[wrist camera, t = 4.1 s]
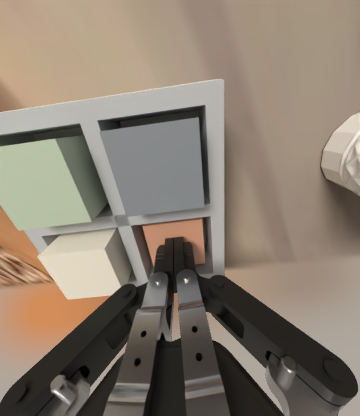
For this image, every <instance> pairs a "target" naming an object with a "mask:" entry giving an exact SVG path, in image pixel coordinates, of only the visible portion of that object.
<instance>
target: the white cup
mask: <svg viewBox="0 0 360 416" xmlns="http://www.w3.org/2000/svg"><path fill="white" fill-rule="evenodd" d="M321 168H322V170H323V173H324V175H325V177H326V179H328V180H330V181H332V182H333V183H335V184H337V185H339V186H342V187H344V188H346V189H349V190H351V191H353V192H354V193H355V194H356V195H358V196H360V112H359V113H356V114H354V115H352V116H350V117H349V118H348V119H347V120H346V121H345V122H344V123H343V124H342V125H341V126H340V127H338V128H337V129H336V130H335V131H334V132H333V134H332V136H331V137H330V139H329V141H328V142H327V144H326V146H325V148H324V149H323V155H322V161H321Z"/></svg>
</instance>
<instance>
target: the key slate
mask: <svg viewBox="0 0 360 416" xmlns="http://www.w3.org/2000/svg"><path fill="white" fill-rule="evenodd" d="M99 133H100V136H101V139H102V142H103V145H104V148H105V151H106V154H107V158H108V161H109V164H110V167H111V170H112V173H113V176H114V179H115V182H116V185H117V189H118V192H119V195H120V198H121V201H122V204H123V207H124V210H125V213H126V217H131V216H139V215H147V214H156V213H164V212H172V211H180V210H189V209H197V208H204V192H203V177H202V161H201V146H200V130H199V117H197V118H190V119H183V120H176V121H169V122H162V123H155V124H148V125H141V126H134V127H127V128H120V129H113V130H107V131H100V132H99Z"/></svg>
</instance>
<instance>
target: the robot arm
mask: <svg viewBox="0 0 360 416" xmlns="http://www.w3.org/2000/svg"><path fill="white" fill-rule="evenodd" d="M177 291H178V302H179V307H178V311H179V323H180V334H181V338H180V339H177V340H175V341H172V336H171V335H172V321H173V309H174V293H177ZM206 312H210V313H211V314H212V315H213V317H215V319H216V320H217V321H218V322H219V323H220V324H221V325H222V326H223V327H224V328H225V329H226V330H227V331H228V332H229V333H230V334H231V335H233V336H234V337H235V339H236V340H237V341H239V343H240V344H242V345H243V346H244V347H245V348H246V349H247V350H248V351H249V352H250V353H251V354H252V355H253V356H254V357H255V358H256V359H257V360H258V361H259V362H260V363H261V364H262V365H263V366H264V367H265V368H266V372H265V375H266V380H267V384H268V386H269V388H270V390H271V391H272V393H273V394H274V395H275V397H276V398H277V399H278V401H279V403H280V405H281V407H282V410H283V413H284V414H283V413H282V412H281V411H280V410H279V408H278V407H277V406H276V405H275V404H274V403H273V401H272V400H271V399H270V398H269V397H268V396H267V394H266V393H265V392H264V391H263V390H262V389H261V387H260V386H259V385H258V384H257V383H256V382H255V381H254V379H253V378H252V377H251V376H250V375H249V374H248V373H247V371H246V370H245V369H244V368H243V367H242V366H241V364H240V363H239V362H238V361H237V360H236V359H235V358H234V356H233V355H232V354H231V353H230V352H229V351H228V350H227V349H226V348H225V347H224V346H222V345H221V344H220V343H218V342H216V341H213V340H212V337H211V333H210V329H209V324H208V320H207V316H206ZM126 343H127V346H126V349H125V353H124V354H123V355H122V356H121V357H120V358H119V359H118V360H117V361H116V363H115V364H114V365H113V366H112V368H111V369H110V370H109V372H108V373H107V374H106V376H105V377H104V378H103V380H102V381H101V382H100V384H99V385H98V386H97V387H96V389H95V390H94V391H93V393H92V394H91V395H90V397H89V393H90V387H91V385H92V384H93V383H94V382H95V381H96V380H97V378H98V377H99V376H100V375H101V373H102V372H103V371H104V370H105V369H106V367H107V366H108V365H109V364H110V362H111V361H112V360H113V359H114V358H115V356H116V355H117V354H118V353H119V351H120V350H121V349H122V348H123V347H124V345H125V344H126ZM357 392H358V384H357V381H356V378H355V376H354V374H353V373H352V371H351V370H350V368H349V367H348V366H347V365H346V364H345V363H344V362H343V361H342V360H341V359H340V358H339V357H337V356H336V355H335V354H333V353H332V352H330V351H329V350H327V349H326V348H325V347H323V346H322V345H321V344H319V343H318V342H316V341H315V340H313V339H312V338H311V337H309V336H308V335H307V334H305V333H304V332H302V331H301V330H300V329H298V328H296V327H295V326H294V325H293V324H291V323H290V322H288V321H287V320H286V319H284V318H283V317H281V316H280V315H279V314H277V313H276V312H274V311H273V310H271V309H270V308H269V307H267V306H266V305H265V304H263V303H262V302H260V301H259V300H258V299H256V298H255V297H253V296H252V295H250V294H249V293H247V292H246V291H245V290H243V289H242V288H241V287H239V286H238V285H236V284H235V283H234V282H232V281H231V280H229V279H228V278H227V277H225V276H223V275H214V276H212V277H211V278H210V279H209V278H204V277H202V276H200V275H199V274H198V273H197V272H196V269H195V261H194V254H193V246H192V244H191V243H190V242H183V236H181V237H173V238H165V245H159V247H158V248H157V251H156V257H155V264H154V270H153V275H152V276H151V277H150V278H149V280H148V282H147V283H145V284H143V285H140V286H138V287H136V286H135V285H134V284H125V285H123V286H122V287H120V288H119V289H118V290H117V291H116V292H115V293H114V294H113V295H111V296H110V297H109V298H108V299H107V300H106V301H105V302H104V303H103V304H102V305H100V306H99V307H98V308H97V309H96V310H95V311H94V312H93V313H92V314H90V315H89V316H88V317H87V318H86V319H85V320H84V321H83V322H82V323H81V324H80V325H78V326H77V327H76V328H75V329H74V330H73V331H72V332H71V333H70V334H68V335H67V336H66V337H65V338H64V339H63V340H62V341H61V342H60V343H59V344H58V345H56V346H55V347H54V348H53V349H52V350H51V351H50V352H49V353H48V354H47V355H45V356H44V357H43V358H42V359H41V360H40V361H39V362H38V363H37V364H35V365H34V366H33V367H32V368H31V369H30V370H29V371H28V372H27V373H26V374H24V375H23V376H22V377H21V378H20V379H19V380H18V381H17V382H16V383H15V384H14V385H13V386H12V387H11V388H10V389H9V390H8V392H7V393H6V394H5V396H4V397H3V399H2V401H1V403H0V416H338V412H339V411H340V410H341V409H342V408H343V407H344V406H345V405H346V404H347V403H348V402H349V401H350V400H351V399H352V398H353V397H354V396H355V395H356V394H357ZM88 397H89V398H88Z"/></svg>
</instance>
